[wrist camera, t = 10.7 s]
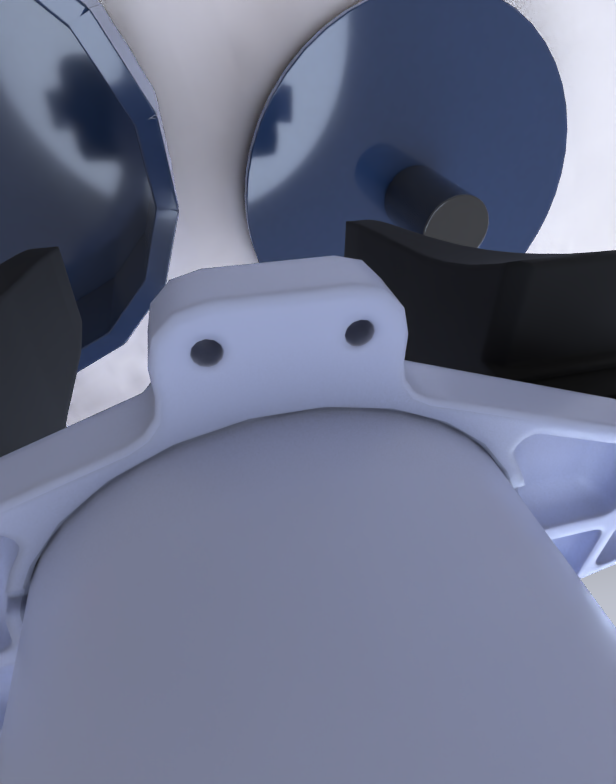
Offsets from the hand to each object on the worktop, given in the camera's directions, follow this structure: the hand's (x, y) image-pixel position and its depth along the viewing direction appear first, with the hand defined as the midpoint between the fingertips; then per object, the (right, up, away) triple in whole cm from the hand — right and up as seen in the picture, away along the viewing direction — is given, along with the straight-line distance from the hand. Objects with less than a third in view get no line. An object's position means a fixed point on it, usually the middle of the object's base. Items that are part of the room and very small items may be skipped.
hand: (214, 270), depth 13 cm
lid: (+7, +5, +9) cm, 12 cm away
